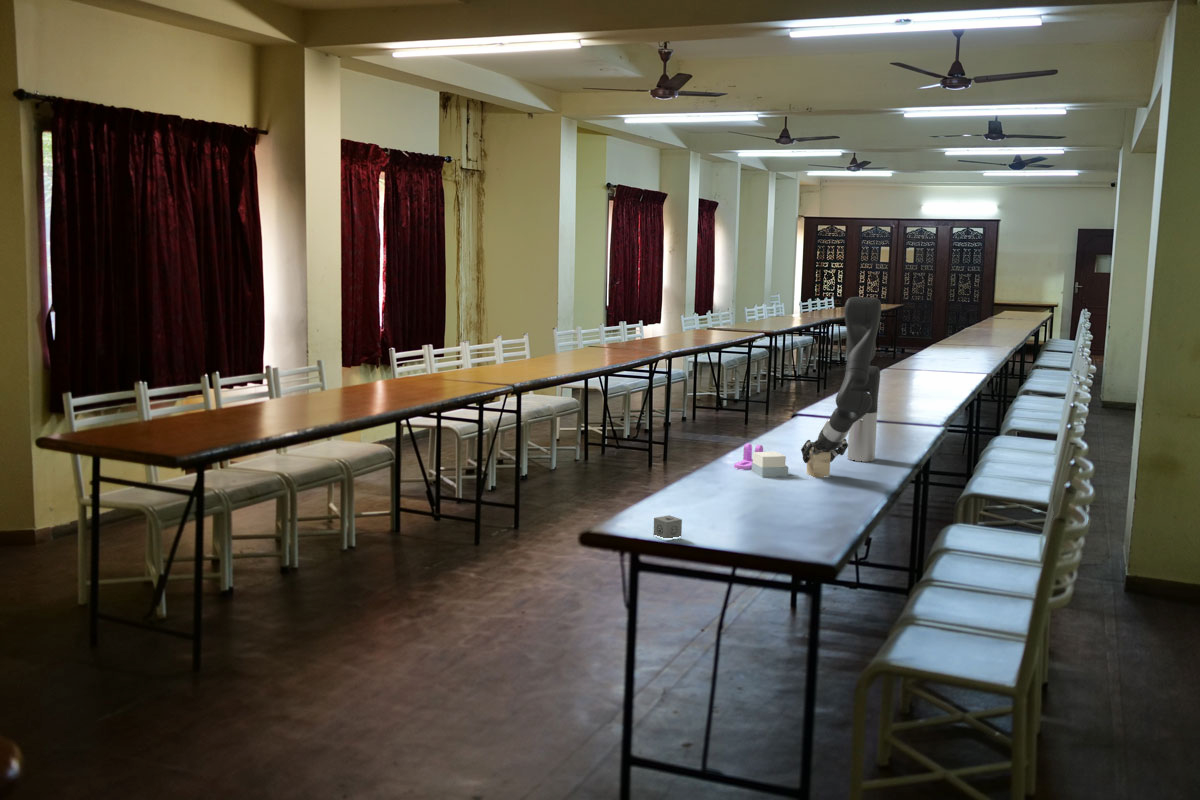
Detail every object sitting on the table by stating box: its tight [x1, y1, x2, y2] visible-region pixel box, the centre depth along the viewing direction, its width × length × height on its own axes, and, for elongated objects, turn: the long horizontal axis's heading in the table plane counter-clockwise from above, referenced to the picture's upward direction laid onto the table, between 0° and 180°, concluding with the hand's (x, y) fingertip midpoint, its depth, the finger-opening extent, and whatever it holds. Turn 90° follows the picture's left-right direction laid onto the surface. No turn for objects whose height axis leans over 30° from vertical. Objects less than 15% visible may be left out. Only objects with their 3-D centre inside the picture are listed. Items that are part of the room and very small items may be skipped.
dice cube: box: [653, 514, 683, 538], centre depth 265 cm, size 5×5×5 cm
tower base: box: [751, 462, 789, 478], centre depth 344 cm, size 9×9×4 cm
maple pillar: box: [806, 447, 831, 478], centre depth 342 cm, size 6×6×10 cm
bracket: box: [733, 443, 764, 470], centre depth 355 cm, size 13×6×7 cm, turn 147°
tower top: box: [752, 451, 787, 468], centre depth 343 cm, size 8×8×4 cm
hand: (816, 460), depth 343 cm, fingers open, 8 cm apart
